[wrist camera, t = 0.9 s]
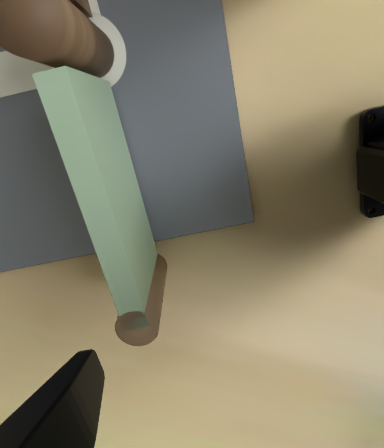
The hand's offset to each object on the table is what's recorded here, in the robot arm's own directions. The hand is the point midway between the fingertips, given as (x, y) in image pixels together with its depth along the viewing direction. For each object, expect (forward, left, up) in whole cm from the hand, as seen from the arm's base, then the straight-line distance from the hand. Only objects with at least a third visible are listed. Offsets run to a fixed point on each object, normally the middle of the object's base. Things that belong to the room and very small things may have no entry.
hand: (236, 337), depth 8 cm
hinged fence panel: (+4, -2, -11) cm, 12 cm away
